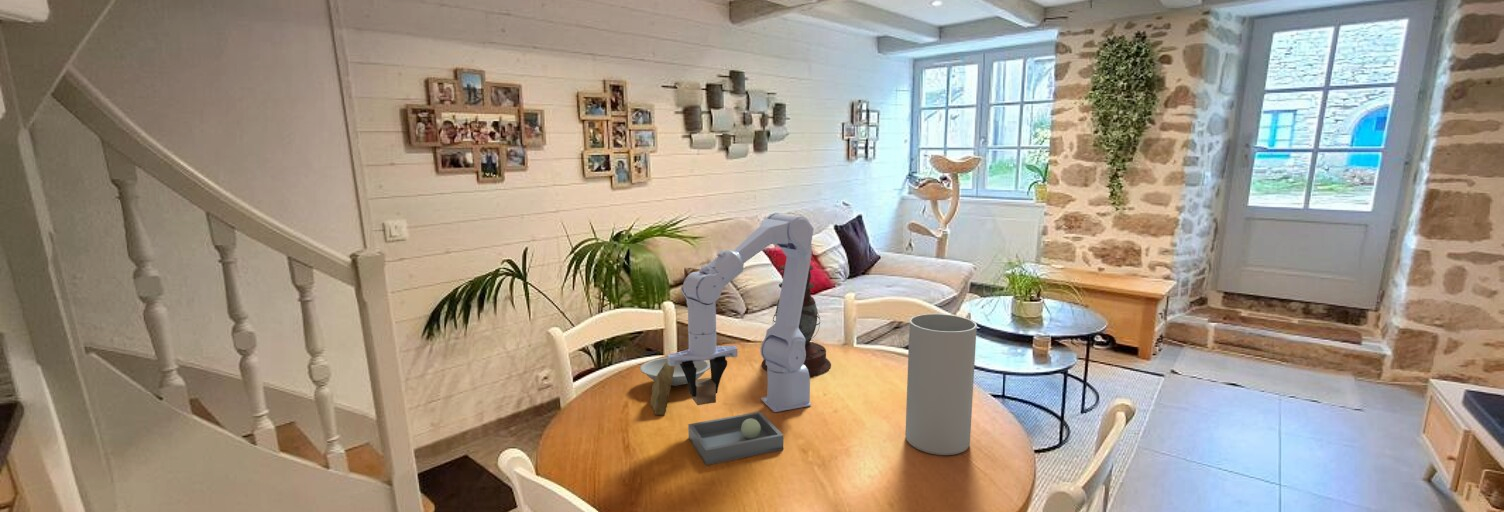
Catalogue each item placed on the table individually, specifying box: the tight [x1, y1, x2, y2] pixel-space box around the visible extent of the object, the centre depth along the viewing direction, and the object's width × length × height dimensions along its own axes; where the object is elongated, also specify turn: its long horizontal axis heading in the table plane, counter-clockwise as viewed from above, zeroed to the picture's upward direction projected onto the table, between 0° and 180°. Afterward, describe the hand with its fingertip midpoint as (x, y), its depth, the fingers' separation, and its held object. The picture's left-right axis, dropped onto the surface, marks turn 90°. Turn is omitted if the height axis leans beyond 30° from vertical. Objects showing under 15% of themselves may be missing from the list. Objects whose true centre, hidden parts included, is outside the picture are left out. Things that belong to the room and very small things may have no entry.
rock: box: [649, 362, 675, 416], centre depth 142 cm, size 11×9×10 cm
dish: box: [639, 357, 711, 387], centre depth 155 cm, size 18×14×5 cm
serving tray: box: [687, 411, 784, 466], centre depth 124 cm, size 16×12×3 cm
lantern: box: [761, 264, 832, 378], centre depth 166 cm, size 19×19×30 cm
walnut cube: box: [691, 377, 717, 406], centre depth 129 cm, size 4×4×4 cm
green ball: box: [741, 418, 761, 439], centre depth 125 cm, size 4×4×4 cm
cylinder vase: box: [904, 313, 978, 456], centre depth 122 cm, size 12×12×25 cm
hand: (703, 393), depth 129 cm, fingers closed on walnut cube, 4 cm apart
